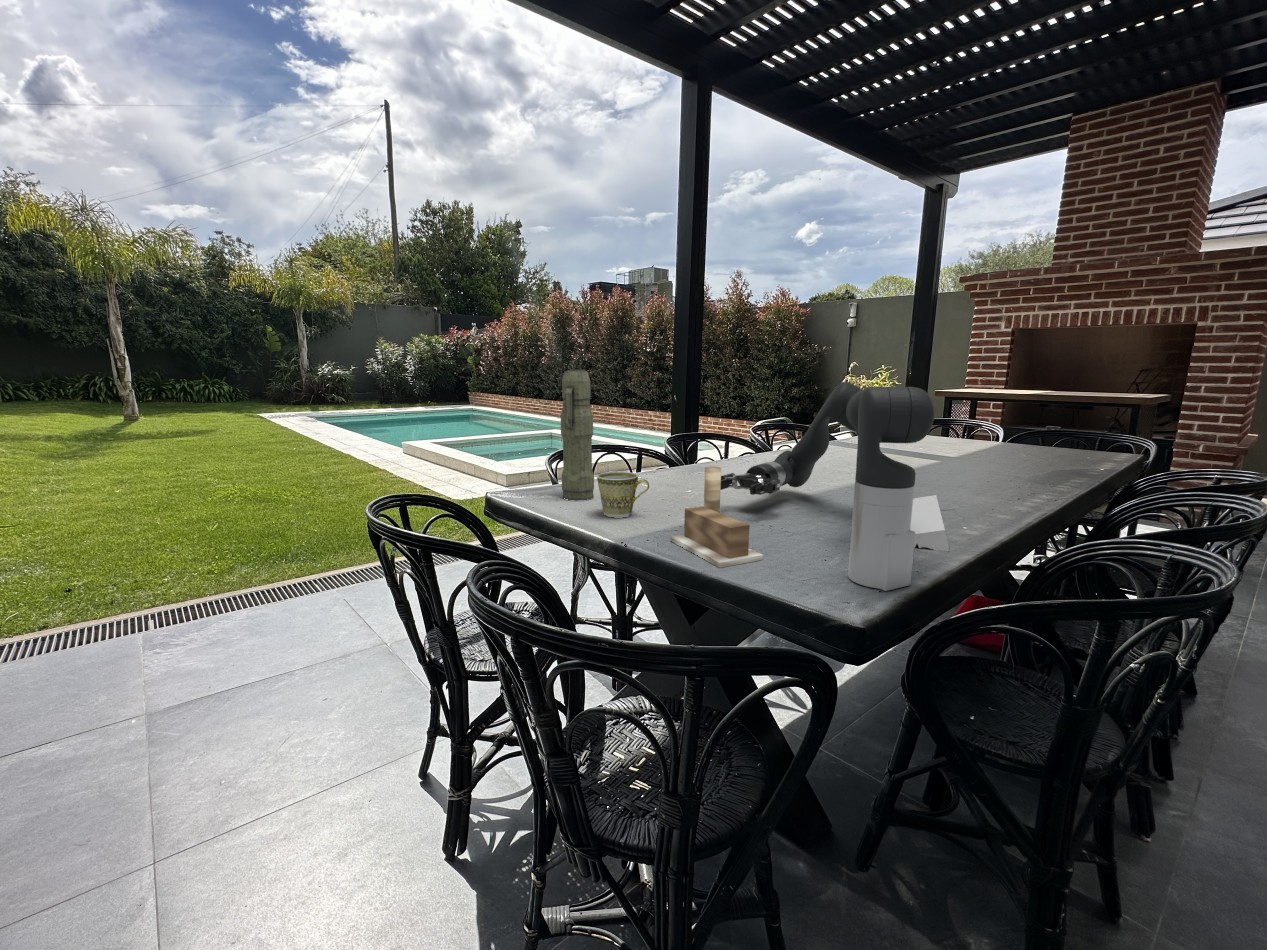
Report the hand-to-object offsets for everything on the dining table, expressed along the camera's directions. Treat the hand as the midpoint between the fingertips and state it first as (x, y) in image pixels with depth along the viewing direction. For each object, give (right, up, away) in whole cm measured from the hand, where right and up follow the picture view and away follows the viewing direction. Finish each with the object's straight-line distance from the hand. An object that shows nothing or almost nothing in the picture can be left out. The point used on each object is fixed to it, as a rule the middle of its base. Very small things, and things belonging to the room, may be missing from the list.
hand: (735, 487), depth 138 cm
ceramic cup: (-27, -7, +4) cm, 28 cm away
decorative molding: (+41, -10, -5) cm, 42 cm away
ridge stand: (-8, -12, -22) cm, 26 cm away
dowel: (-7, -9, -7) cm, 13 cm away
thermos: (-40, -3, +23) cm, 46 cm away
